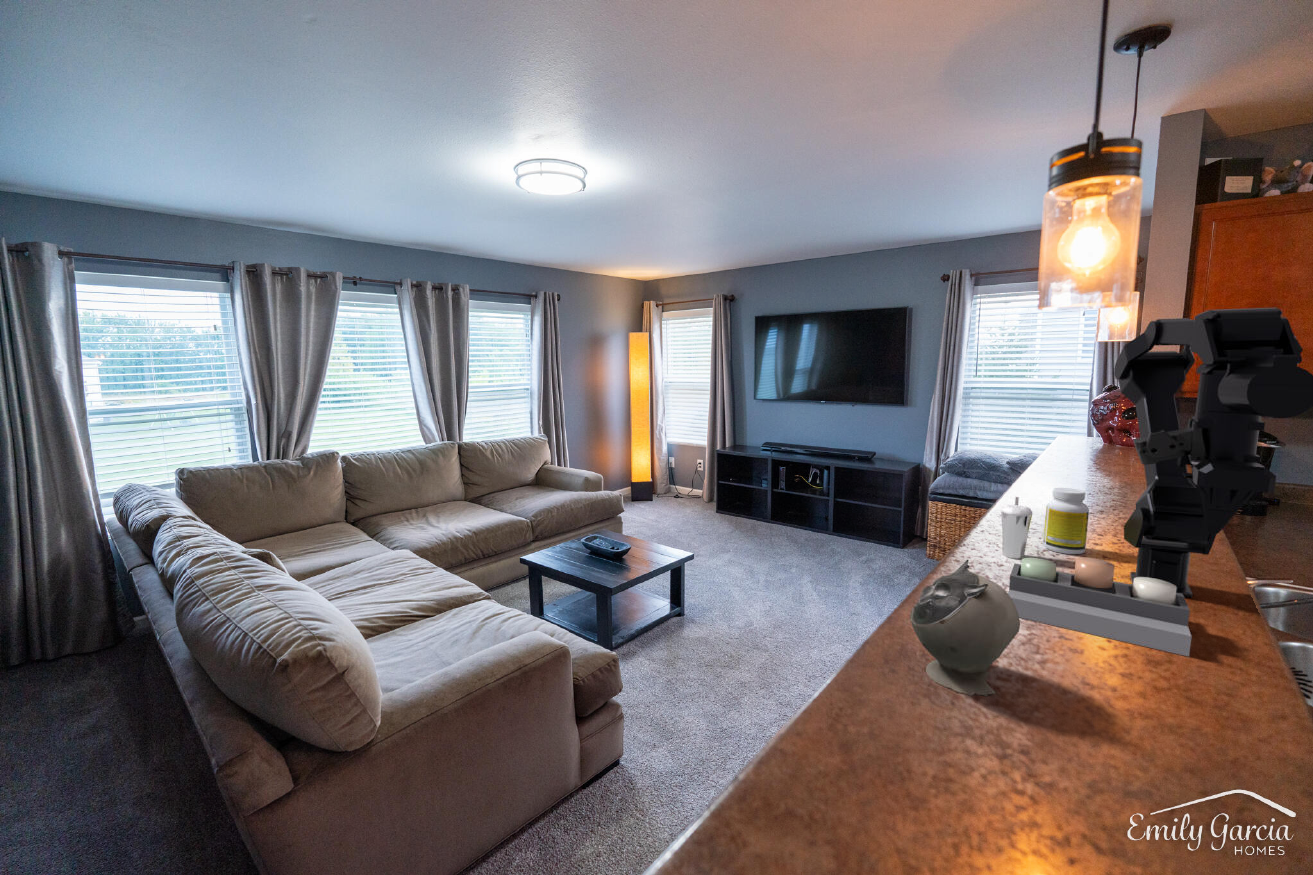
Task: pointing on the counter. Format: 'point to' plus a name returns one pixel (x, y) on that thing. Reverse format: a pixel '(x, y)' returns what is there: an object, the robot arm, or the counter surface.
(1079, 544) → the pill bottle
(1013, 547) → the milkshake
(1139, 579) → the button ivory
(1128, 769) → the counter surface
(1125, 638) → the button panel
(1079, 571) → the button terracotta
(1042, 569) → the button sage
